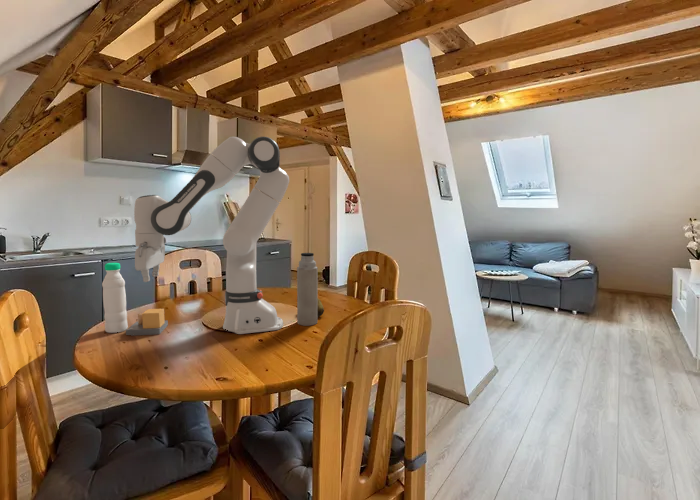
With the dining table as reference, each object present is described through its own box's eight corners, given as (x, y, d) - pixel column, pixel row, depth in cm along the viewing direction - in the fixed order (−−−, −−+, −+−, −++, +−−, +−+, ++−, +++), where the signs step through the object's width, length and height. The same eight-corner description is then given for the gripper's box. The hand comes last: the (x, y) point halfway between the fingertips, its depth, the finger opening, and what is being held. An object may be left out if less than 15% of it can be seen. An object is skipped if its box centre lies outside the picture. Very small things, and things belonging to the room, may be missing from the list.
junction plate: (167, 325, 144) (167, 310, 143) (159, 334, 134) (158, 317, 133) (136, 326, 142) (136, 311, 141) (126, 335, 132) (125, 319, 131)
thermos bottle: (302, 318, 154) (302, 251, 151) (320, 320, 152) (320, 252, 148) (293, 324, 147) (293, 253, 143) (312, 326, 144) (312, 254, 141)
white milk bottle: (117, 334, 133) (112, 265, 130) (100, 332, 135) (95, 264, 132) (132, 328, 140) (128, 262, 137) (116, 326, 141) (112, 261, 138)
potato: (304, 319, 153) (304, 300, 152) (301, 310, 166) (301, 293, 165) (324, 318, 155) (325, 299, 154) (319, 309, 168) (319, 292, 167)
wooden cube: (164, 322, 140) (163, 308, 140) (159, 327, 135) (159, 312, 134) (148, 323, 139) (147, 309, 139) (143, 328, 134) (142, 313, 133)
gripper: (149, 243, 124) (151, 284, 125) (167, 238, 144) (168, 273, 145) (128, 243, 123) (130, 285, 124) (149, 238, 143) (151, 273, 144)
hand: (151, 278), depth 135 cm, fingers open, 8 cm apart
